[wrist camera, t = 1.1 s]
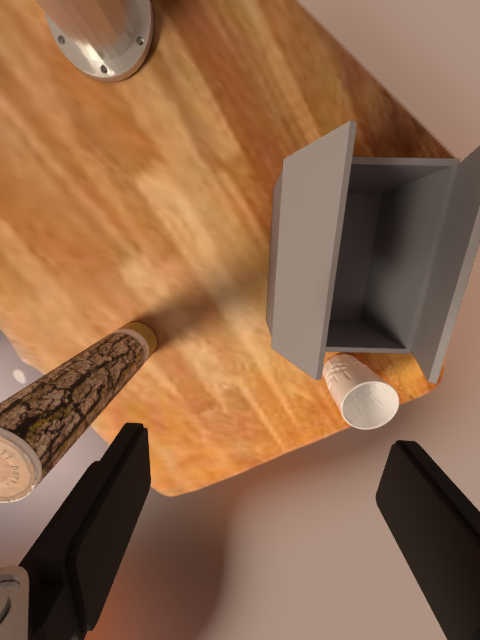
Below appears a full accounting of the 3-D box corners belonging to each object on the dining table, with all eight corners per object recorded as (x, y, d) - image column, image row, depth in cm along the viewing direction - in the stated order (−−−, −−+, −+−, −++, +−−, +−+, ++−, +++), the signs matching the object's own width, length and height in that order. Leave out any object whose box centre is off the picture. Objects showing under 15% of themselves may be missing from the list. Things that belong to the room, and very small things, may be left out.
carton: (273, 188, 33) (289, 155, 22) (385, 190, 33) (460, 158, 22) (266, 320, 39) (275, 350, 28) (361, 323, 39) (409, 353, 28)
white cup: (321, 392, 43) (343, 433, 33) (316, 354, 41) (339, 386, 31) (364, 385, 42) (399, 425, 33) (362, 346, 40) (399, 376, 31)
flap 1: (275, 347, 27) (271, 348, 27) (288, 160, 22) (283, 159, 22) (321, 378, 21) (316, 380, 21) (357, 122, 15) (350, 120, 15)
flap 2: (459, 163, 22) (467, 162, 22) (411, 350, 27) (417, 351, 27) (503, 125, 15) (516, 123, 15) (428, 381, 21) (436, 383, 21)
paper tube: (158, 322, 40) (27, 434, 16) (158, 358, 42) (43, 506, 18) (118, 319, 39) (-75, 425, 16) (120, 355, 41) (-47, 498, 18)
